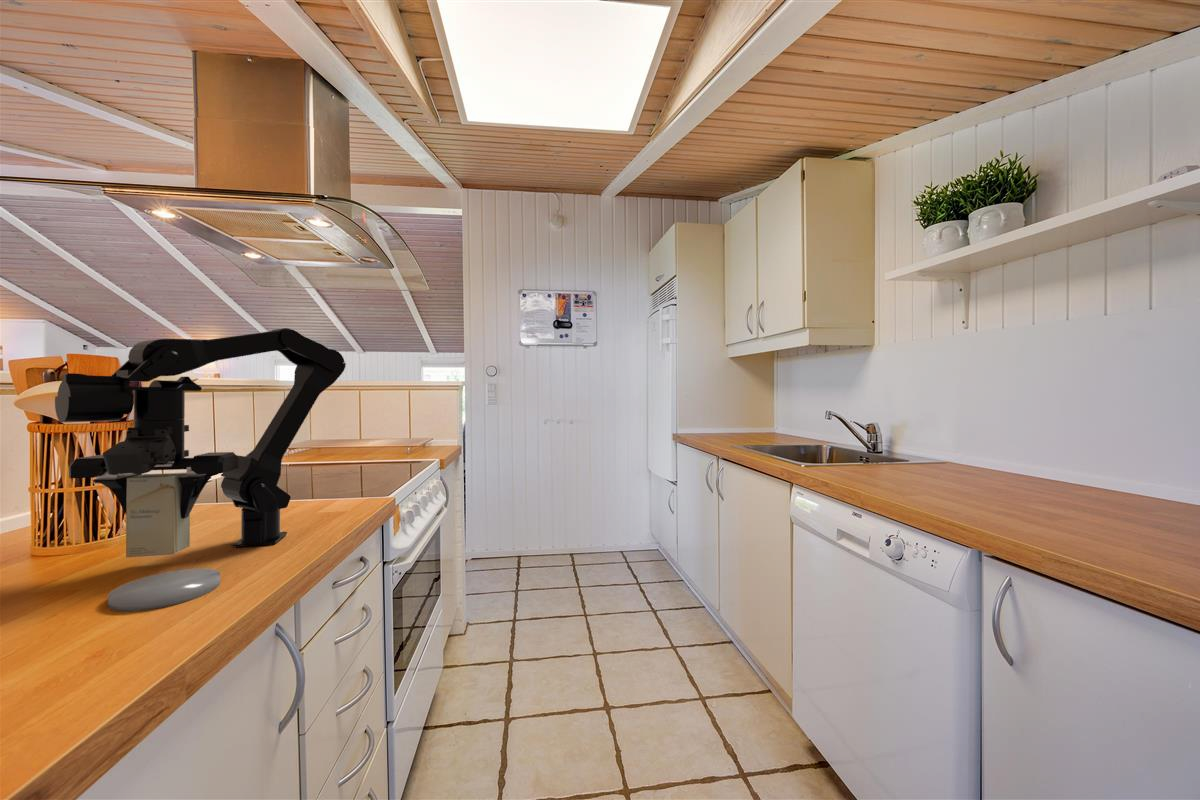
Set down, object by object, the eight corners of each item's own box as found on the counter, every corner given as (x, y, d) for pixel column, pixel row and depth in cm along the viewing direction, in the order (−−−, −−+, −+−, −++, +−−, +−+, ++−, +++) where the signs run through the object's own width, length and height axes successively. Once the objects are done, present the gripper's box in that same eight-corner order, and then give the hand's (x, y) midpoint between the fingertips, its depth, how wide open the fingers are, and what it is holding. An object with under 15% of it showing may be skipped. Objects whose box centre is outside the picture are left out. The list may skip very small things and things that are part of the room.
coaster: (143, 581, 66) (143, 572, 66) (234, 573, 69) (234, 565, 69) (83, 616, 55) (83, 606, 55) (194, 605, 58) (194, 595, 58)
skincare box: (125, 559, 68) (122, 478, 68) (145, 549, 73) (143, 473, 72) (175, 554, 70) (173, 475, 70) (193, 545, 74) (191, 471, 74)
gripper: (34, 423, 61) (34, 540, 61) (204, 422, 66) (203, 529, 66) (98, 419, 71) (98, 518, 71) (239, 418, 77) (239, 510, 77)
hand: (159, 519), depth 71 cm, fingers closed on skincare box, 6 cm apart
